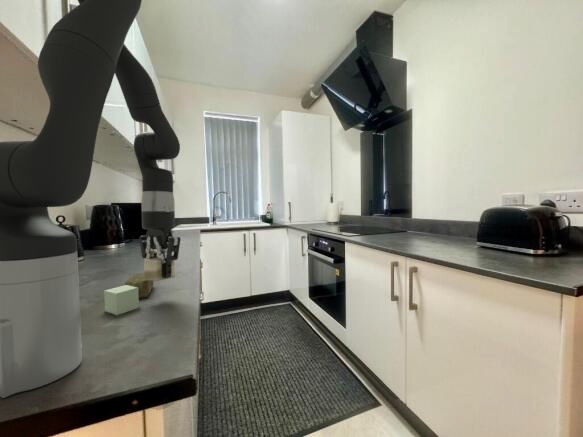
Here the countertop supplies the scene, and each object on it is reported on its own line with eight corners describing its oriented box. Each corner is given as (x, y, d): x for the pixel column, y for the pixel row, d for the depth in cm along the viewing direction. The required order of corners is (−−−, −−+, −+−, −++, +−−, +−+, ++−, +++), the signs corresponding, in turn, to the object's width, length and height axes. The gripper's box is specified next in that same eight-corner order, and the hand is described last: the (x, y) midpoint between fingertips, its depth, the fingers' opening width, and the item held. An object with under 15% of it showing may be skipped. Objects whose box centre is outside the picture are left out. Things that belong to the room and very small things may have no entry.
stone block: (123, 301, 67) (123, 282, 67) (132, 289, 78) (132, 272, 78) (148, 298, 70) (148, 279, 70) (154, 286, 80) (153, 270, 80)
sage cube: (116, 315, 58) (115, 293, 58) (105, 311, 61) (104, 290, 60) (138, 308, 63) (138, 287, 62) (127, 304, 65) (126, 284, 65)
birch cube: (156, 281, 63) (156, 260, 63) (144, 279, 65) (144, 259, 65) (174, 277, 67) (174, 257, 67) (162, 275, 70) (162, 256, 70)
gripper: (127, 210, 66) (128, 276, 67) (162, 209, 59) (163, 283, 60) (155, 210, 73) (156, 270, 73) (189, 209, 66) (190, 276, 66)
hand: (159, 275), depth 66 cm, fingers closed on birch cube, 5 cm apart
